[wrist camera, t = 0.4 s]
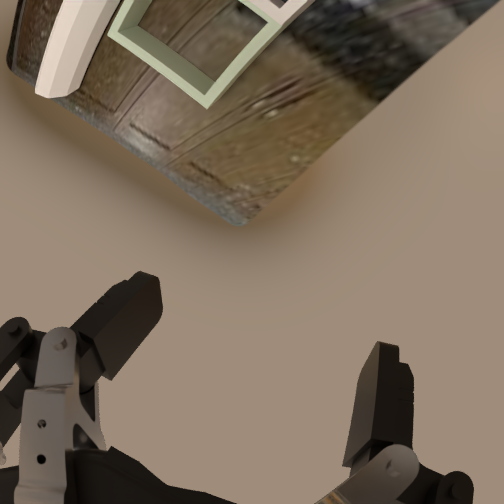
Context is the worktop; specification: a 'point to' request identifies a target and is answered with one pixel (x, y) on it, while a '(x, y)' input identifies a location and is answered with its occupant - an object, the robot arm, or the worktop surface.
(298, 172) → the worktop surface
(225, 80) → the pale green square frame
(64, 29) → the crystal
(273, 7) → the white bin
